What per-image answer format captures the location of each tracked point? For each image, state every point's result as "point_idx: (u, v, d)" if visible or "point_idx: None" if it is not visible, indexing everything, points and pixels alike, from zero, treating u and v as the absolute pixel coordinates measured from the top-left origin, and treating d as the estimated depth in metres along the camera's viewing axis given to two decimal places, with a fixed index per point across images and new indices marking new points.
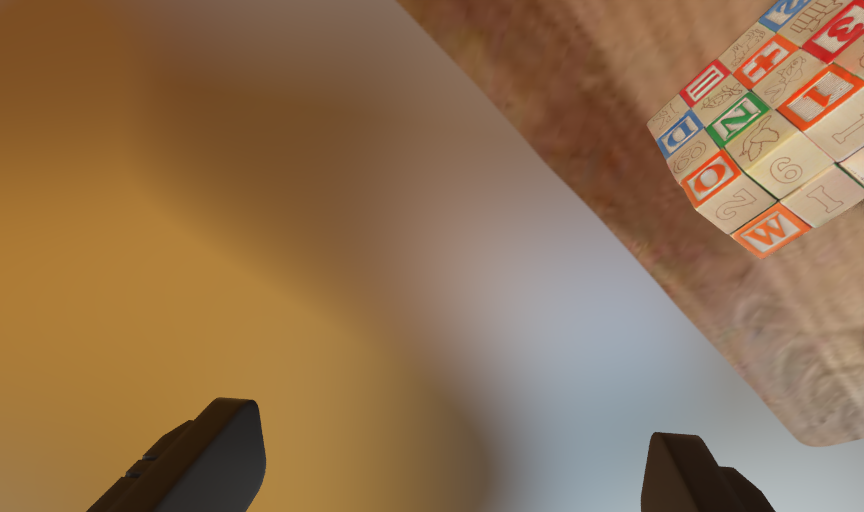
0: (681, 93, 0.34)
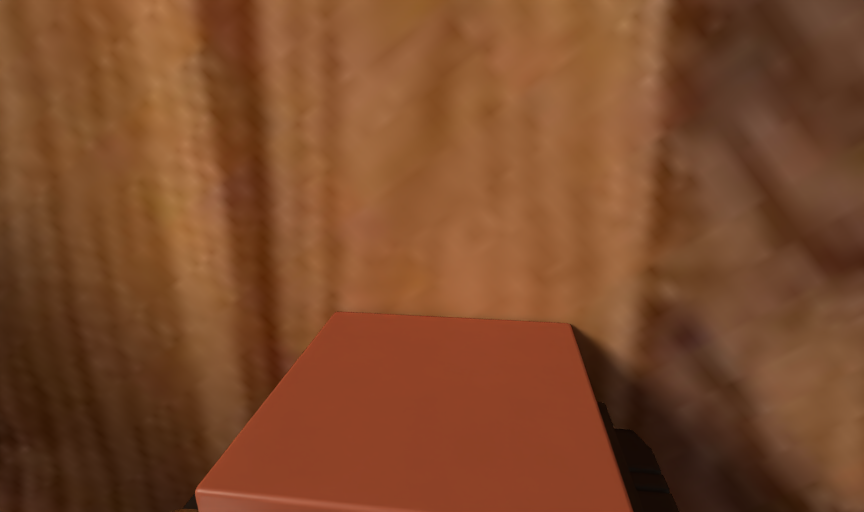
0: None
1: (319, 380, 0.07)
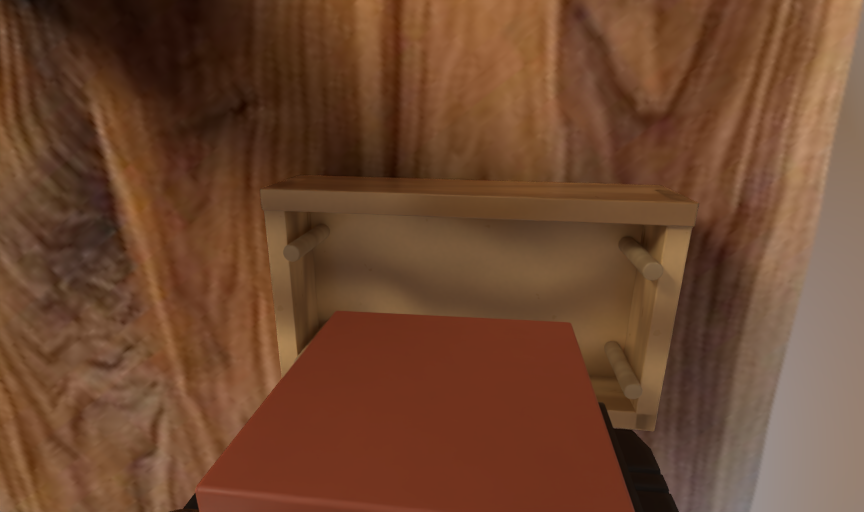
0: None
1: (320, 378, 0.07)
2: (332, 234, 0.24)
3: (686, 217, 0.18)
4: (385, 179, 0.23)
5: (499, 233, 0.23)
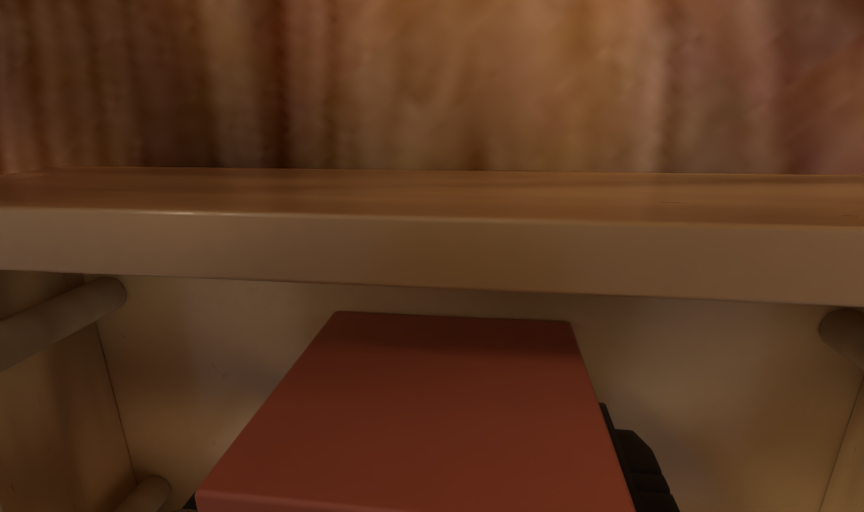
0: None
1: (318, 380, 0.07)
2: (133, 299, 0.11)
3: None
4: (240, 172, 0.10)
5: (515, 300, 0.09)
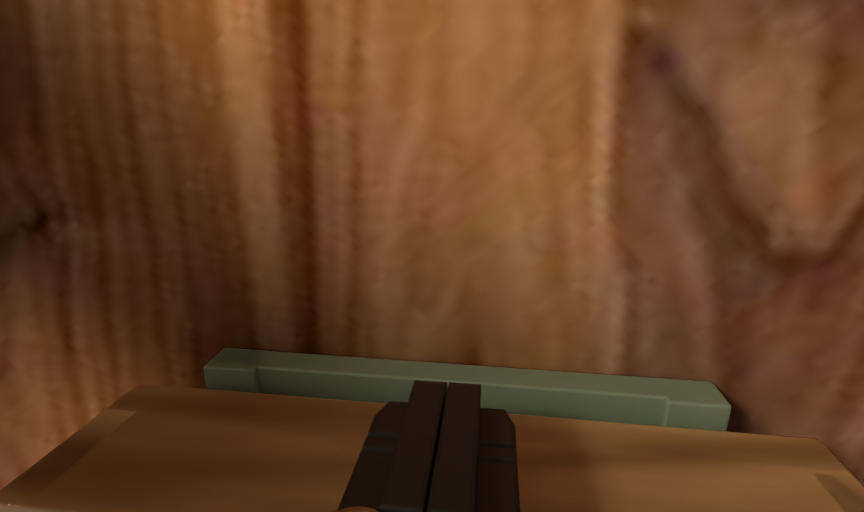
0: None
1: None
2: None
3: None
4: (284, 411, 0.12)
5: None
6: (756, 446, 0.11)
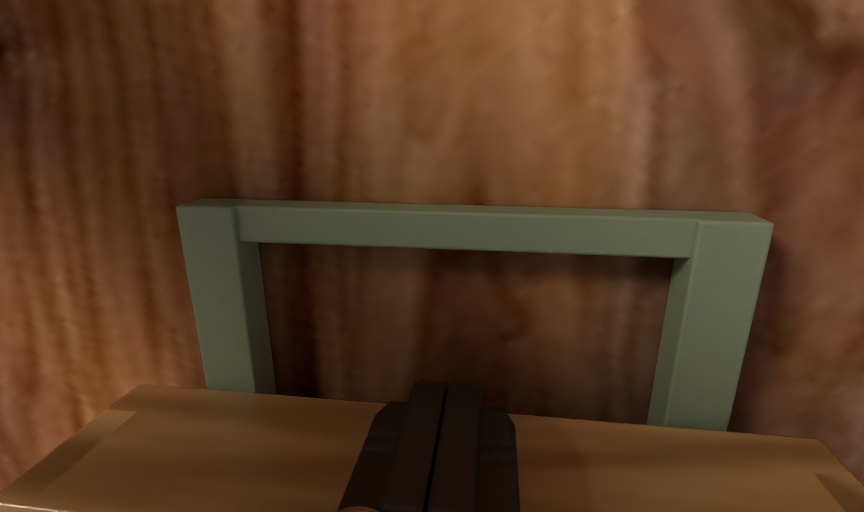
0: None
1: None
2: None
3: None
4: (284, 411, 0.12)
5: None
6: (756, 446, 0.11)
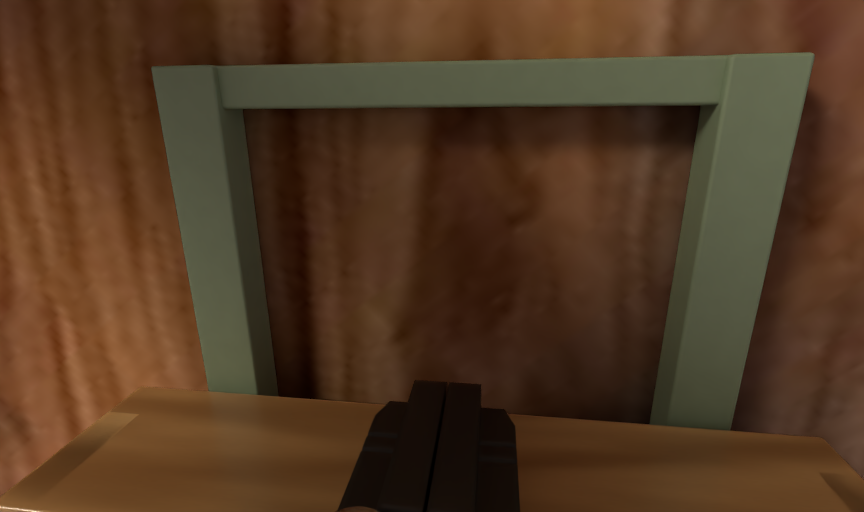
0: None
1: None
2: None
3: None
4: (286, 413, 0.12)
5: None
6: (760, 445, 0.11)
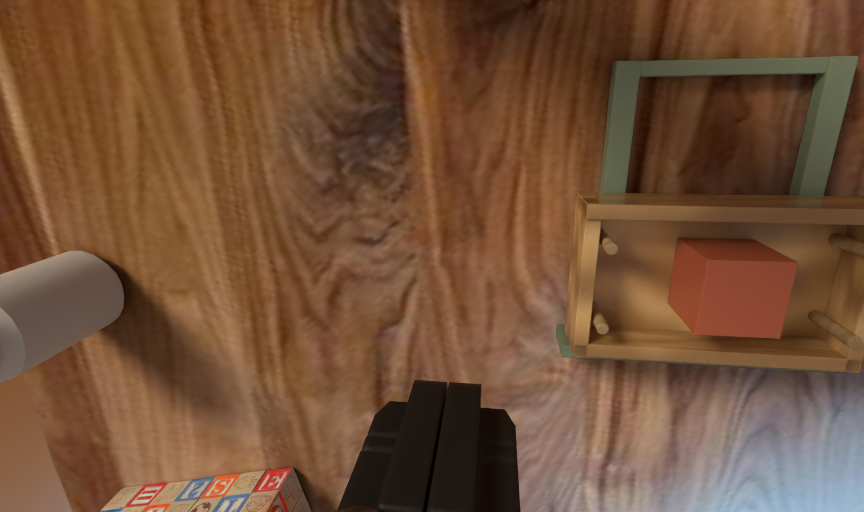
0: (143, 487, 0.50)
1: (703, 248, 0.30)
2: None
3: None
4: (650, 195, 0.32)
5: (737, 233, 0.32)
6: (836, 197, 0.31)
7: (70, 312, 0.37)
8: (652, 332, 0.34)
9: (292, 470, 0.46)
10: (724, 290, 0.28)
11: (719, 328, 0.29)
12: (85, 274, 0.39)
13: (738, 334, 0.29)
